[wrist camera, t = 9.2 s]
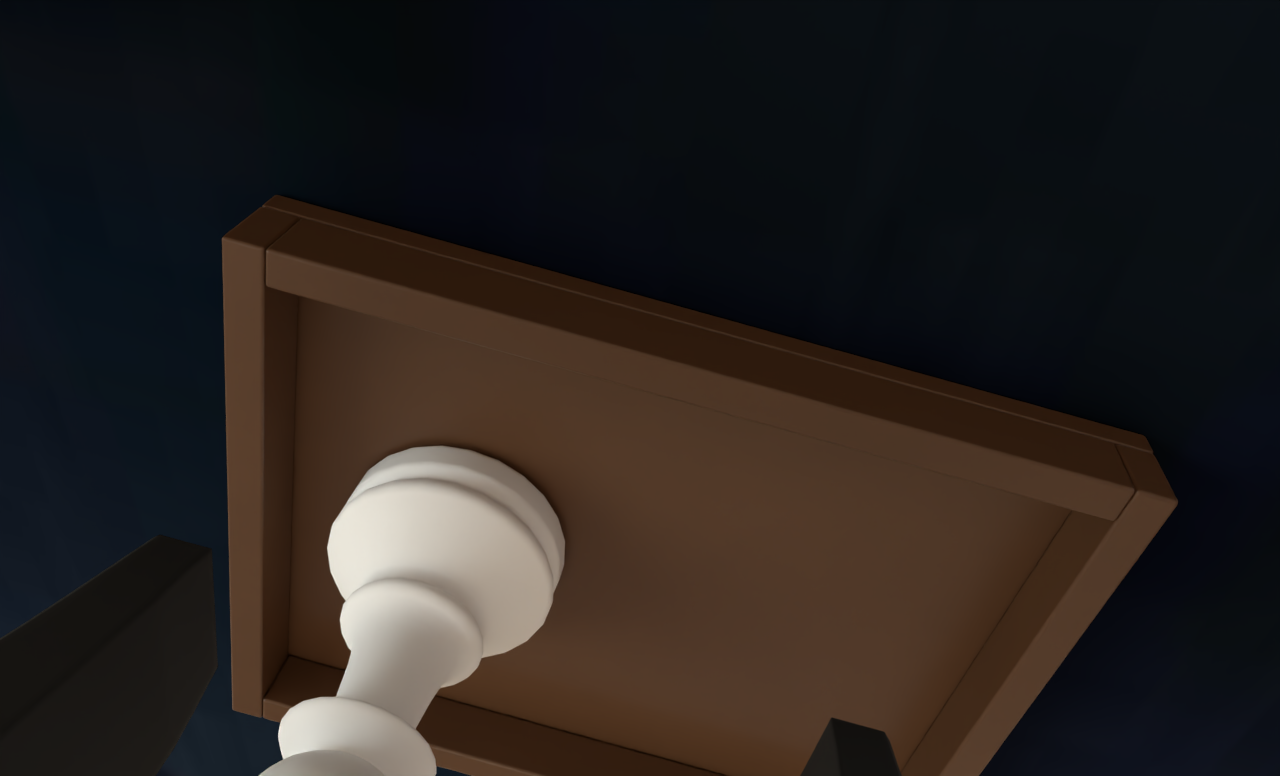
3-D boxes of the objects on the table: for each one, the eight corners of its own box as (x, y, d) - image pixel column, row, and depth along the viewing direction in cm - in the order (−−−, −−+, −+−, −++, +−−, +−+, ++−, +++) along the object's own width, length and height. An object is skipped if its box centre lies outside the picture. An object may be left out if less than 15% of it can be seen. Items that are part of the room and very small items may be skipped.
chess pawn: (434, 399, 20) (207, 776, 12) (613, 538, 21) (506, 955, 14) (315, 521, 22) (64, 898, 15) (482, 639, 24) (330, 1039, 16)
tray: (1145, 434, 18) (1180, 502, 17) (888, 818, 26) (894, 893, 24) (275, 193, 18) (220, 236, 17) (269, 648, 26) (231, 710, 24)
